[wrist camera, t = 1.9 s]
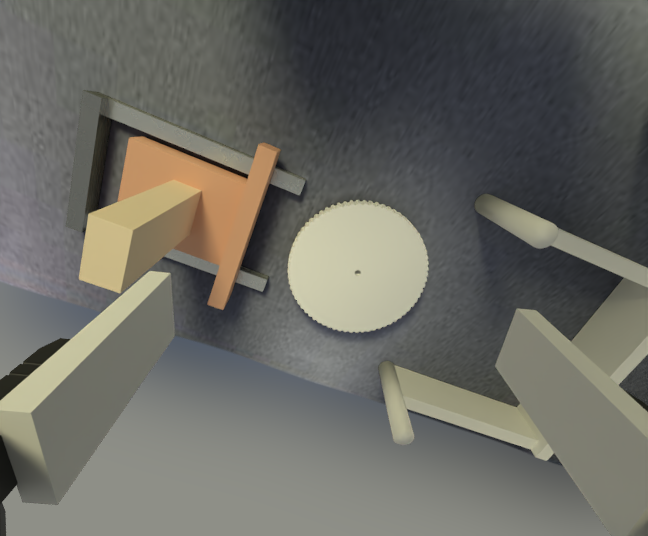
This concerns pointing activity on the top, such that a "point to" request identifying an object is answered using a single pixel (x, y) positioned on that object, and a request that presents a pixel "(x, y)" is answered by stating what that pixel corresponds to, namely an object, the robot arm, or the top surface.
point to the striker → (175, 216)
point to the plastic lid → (357, 266)
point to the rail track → (104, 108)
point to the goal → (592, 340)
